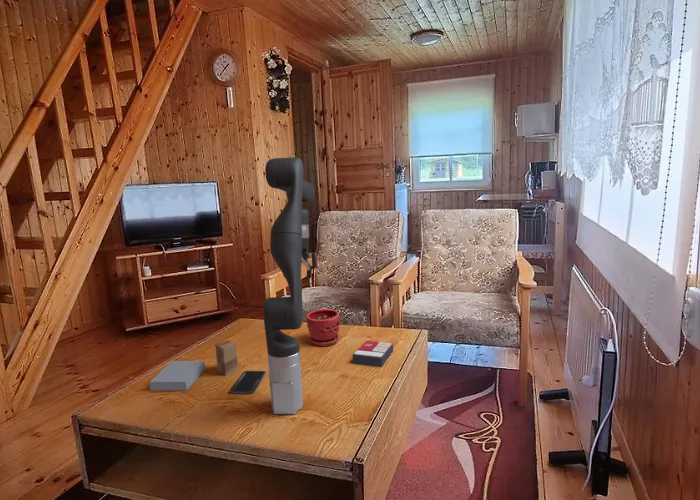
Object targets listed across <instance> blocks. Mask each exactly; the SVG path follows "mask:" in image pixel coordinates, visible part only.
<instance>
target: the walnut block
mask: <svg viewBox="0 0 700 500" xmlns="http://www.w3.org/2000/svg"><path fill="white" fill-rule="evenodd" d="M214 346H215V347H214V348H215V357H216V364H217V367H216V368H217V373H220V374H221V375H223V376H225V377H226V376H229V375H232V374H233V373H236V372H238V371H239V365H238V352H237V344H236V343H235V342H232V341H230V340H225V341H223V342H220V343H219V342H218V343H217V344H215V345H214Z"/></svg>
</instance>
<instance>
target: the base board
mask: <svg viewBox="0 0 700 500" xmlns="http://www.w3.org/2000/svg"><path fill="white" fill-rule="evenodd" d="M205 369H206V365H205V360H179V361H178V360H174V361H173V360H172V361H170V362H169V363H168V364H167V365H166V366H165V367H164V368H163V369H162V370H161V371H160V372H158V373H157V374H156V375H155V376H154V377H153V378H152V379H151V380H150V381H149V387H150V391H154V392H155V391H158V392H159V391H160V392H161V391H166V392H167V391H169V392H170V391H178V392H179V391H188V389H190V387H191V386H192V385H193V384H194V383H195V381H196V380H197V379H198V378H199V377H200V375H202V373H203V372H204V371H205Z"/></svg>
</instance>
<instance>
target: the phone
mask: <svg viewBox="0 0 700 500" xmlns="http://www.w3.org/2000/svg"><path fill="white" fill-rule="evenodd" d="M266 375H267V372H266V371H265V370H245V371H243V372H242V374H241V375H240V376H239V378H238V379H237V380H236V382H235V383H234V384H233V385H232V386H231V388H230V389H229V394H231V395H252V394H254V393H255V391H256V390H257V389H258V387H259V386H260V384H261V382H262V381H263V379H265V377H266Z"/></svg>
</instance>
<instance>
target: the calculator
mask: <svg viewBox="0 0 700 500" xmlns="http://www.w3.org/2000/svg"><path fill="white" fill-rule="evenodd" d="M393 352H394V344H392V343H391V342H383V341H382V342H381V341H380V342H379V341H372V340H366V341H365V342H364V343H363V344H362V345H360V347H359V348H358V349H356V351H355V352H354V353H352V364H353V365H359V366H360V365H361V366H369V367H375V368H376V367H377V368H383V367H384V365H385V364H386V362H387V360H388V359H389V358H390V357H391V355H392V354H393ZM391 353H392V354H391Z"/></svg>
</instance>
